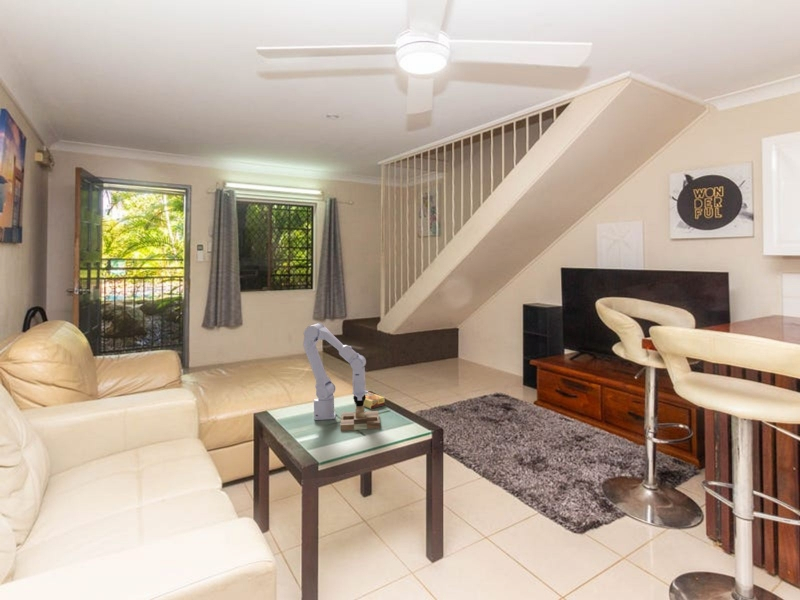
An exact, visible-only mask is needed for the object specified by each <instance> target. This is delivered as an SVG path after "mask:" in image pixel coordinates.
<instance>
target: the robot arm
mask: <svg viewBox="0 0 800 600" xmlns="http://www.w3.org/2000/svg"><path fill="white" fill-rule="evenodd" d="M303 335H304V336H303V341H302V342H303V344H302V345H303V349H304V352H305V354H306V357H307V360H308V362H309V365H310V368H311V370H312V374H313V375H314V379H315V384H314V385H315V396H316V397H317V398H314V399H313V415H314V416H313V419H314V421H323V420H335V419H336V412H335V396H334V394H335V392H336V386H335V384H334V383H333V382H332V380H331V378H330V377H328V374H327V373H326V370H325V368H324V364H323V362H322V359H321V356H320V353H319V351H318V348H317V343H318V341H319V340H321V341H322V340H323V341H326V342H327V343H329V344H330V345H331V346H333V347H334V348H335V349H337V351H338V355H339V356H340V357H341V358H343V359H344V360H345V361H346V362H347V363H349V364H350V368H351V369H352V394H353V401H355V402H354V403H355V406H363V404H364V401H365V398H366V396H365V394H366V393H368V392H369V391H368V390H366V369H365V368H366V367H365V366H366V364H367V360H366V357H365V356H364V355H362V354H360V353H359V352H357V351H356V350H354V349H353V348H352V346H351V345H348V344H343V343H342V342H341V341H340V340H339V339H338V338H337V337H336V336H335V335H334V334H333V333H332V332H331V331H330V330H329V329H328V328H327V327H326V326H325V325H324V324H322V323H321V322H318V323H314V324H312V325H311V324H310V325H308V326H307V327H306V328H305V330H304V331H303ZM354 395H355V396H354Z"/></svg>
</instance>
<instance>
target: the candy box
mask: <svg viewBox="0 0 800 600" xmlns="http://www.w3.org/2000/svg"><path fill="white" fill-rule="evenodd" d="M353 396H355V395H353ZM365 396H366V398H365V401H364V404H363V406H364V408H365V407H366V408H367V409H374V408H379V407H381V406H385V405H386V404H385V401H386V400H385V398H386V397H385V396H381V395H379V394H375V393H373V392H370V391H368V393H366V394H365ZM353 401H354V400H353ZM354 403H355V401H354Z"/></svg>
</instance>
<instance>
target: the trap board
mask: <svg viewBox="0 0 800 600" xmlns="http://www.w3.org/2000/svg"><path fill="white" fill-rule="evenodd" d="M364 413H365V417H361V418H356V412H355V411H349V412H348V411H347V412H341V414H340V431H357V430H373V429H375V430H376V429H381V420H380V414H379V411H378V410H370V411H369V410H368V411H365V410H364Z"/></svg>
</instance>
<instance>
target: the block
mask: <svg viewBox="0 0 800 600" xmlns="http://www.w3.org/2000/svg"><path fill="white" fill-rule="evenodd" d="M354 407H355V409H354V410H355V411H354V412H356V418H361V417H365V413H364V412H365V406H356V405H355V406H354Z"/></svg>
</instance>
